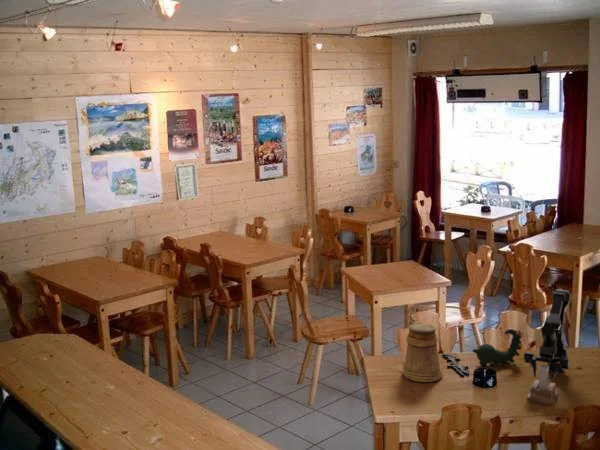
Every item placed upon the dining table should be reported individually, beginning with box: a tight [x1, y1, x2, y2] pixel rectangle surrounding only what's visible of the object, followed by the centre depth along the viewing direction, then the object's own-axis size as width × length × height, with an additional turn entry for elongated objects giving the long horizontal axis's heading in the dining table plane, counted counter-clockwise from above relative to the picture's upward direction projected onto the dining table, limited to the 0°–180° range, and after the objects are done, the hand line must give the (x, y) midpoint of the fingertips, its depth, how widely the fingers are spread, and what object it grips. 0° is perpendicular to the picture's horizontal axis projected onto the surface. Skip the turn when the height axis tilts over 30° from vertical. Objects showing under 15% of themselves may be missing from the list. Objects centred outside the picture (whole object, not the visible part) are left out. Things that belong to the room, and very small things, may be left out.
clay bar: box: [538, 363, 550, 391], centre depth 315 cm, size 4×3×13 cm, turn 151°
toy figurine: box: [472, 328, 522, 368], centre depth 352 cm, size 9×19×25 cm
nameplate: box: [441, 353, 470, 378], centre depth 353 cm, size 28×2×10 cm
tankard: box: [402, 317, 443, 383], centre depth 342 cm, size 18×24×25 cm
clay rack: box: [526, 379, 559, 406], centre depth 316 cm, size 12×11×6 cm
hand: (543, 378), depth 314 cm, fingers open, 7 cm apart
